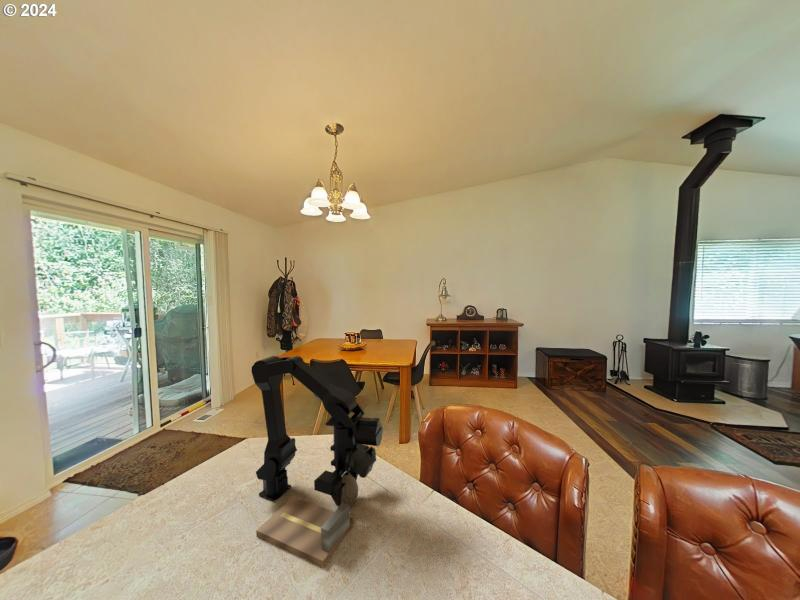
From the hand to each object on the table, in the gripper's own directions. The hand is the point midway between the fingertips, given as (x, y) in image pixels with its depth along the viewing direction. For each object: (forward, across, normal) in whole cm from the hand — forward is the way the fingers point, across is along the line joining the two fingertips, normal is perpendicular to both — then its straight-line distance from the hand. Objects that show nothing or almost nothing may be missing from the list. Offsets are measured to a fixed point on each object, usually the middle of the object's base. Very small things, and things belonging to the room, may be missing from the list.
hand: (345, 496), depth 78 cm
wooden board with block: (+2, -11, +4) cm, 12 cm away
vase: (+2, 0, 0) cm, 2 cm away
